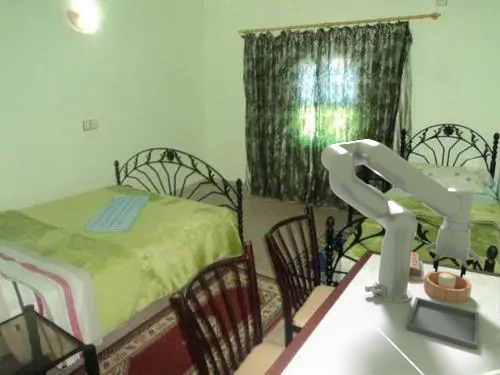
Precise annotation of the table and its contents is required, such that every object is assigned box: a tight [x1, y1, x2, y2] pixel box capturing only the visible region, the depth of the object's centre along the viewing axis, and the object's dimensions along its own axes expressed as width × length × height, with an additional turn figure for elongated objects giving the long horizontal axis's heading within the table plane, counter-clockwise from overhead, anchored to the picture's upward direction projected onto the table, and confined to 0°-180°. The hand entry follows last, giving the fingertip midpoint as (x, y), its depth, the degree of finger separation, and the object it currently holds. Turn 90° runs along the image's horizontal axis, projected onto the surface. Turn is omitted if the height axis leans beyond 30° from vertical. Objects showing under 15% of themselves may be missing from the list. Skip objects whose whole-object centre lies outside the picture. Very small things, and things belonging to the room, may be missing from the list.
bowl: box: [423, 270, 473, 304], centre depth 134 cm, size 14×14×5 cm
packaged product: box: [408, 251, 425, 282], centre depth 152 cm, size 18×5×10 cm
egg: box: [438, 273, 456, 289], centre depth 133 cm, size 5×5×6 cm
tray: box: [406, 296, 479, 351], centre depth 116 cm, size 18×18×2 cm
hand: (448, 273), depth 132 cm, fingers open, 7 cm apart
